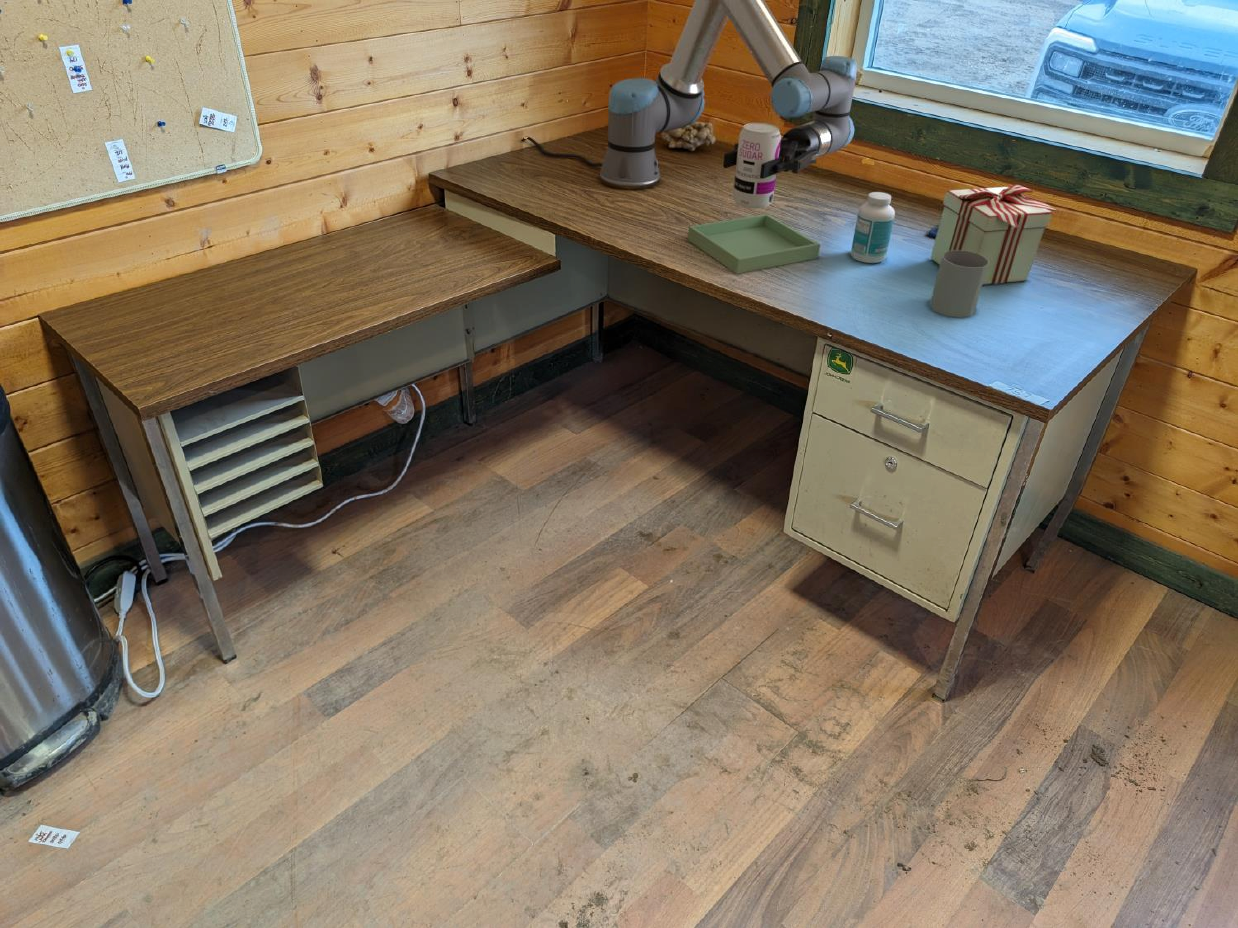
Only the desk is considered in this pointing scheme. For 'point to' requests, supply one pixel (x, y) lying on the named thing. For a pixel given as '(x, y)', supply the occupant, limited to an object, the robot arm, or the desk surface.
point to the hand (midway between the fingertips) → (743, 166)
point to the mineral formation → (690, 136)
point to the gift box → (993, 229)
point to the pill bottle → (873, 229)
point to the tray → (753, 243)
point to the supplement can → (755, 165)
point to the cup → (958, 283)
